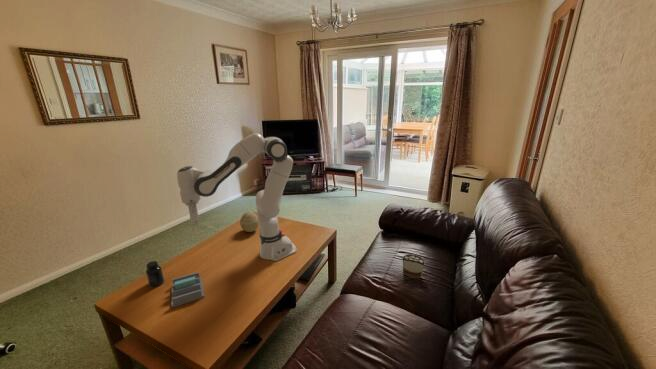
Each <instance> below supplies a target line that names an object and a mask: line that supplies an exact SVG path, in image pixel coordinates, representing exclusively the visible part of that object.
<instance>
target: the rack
mask: <svg viewBox="0 0 656 369" xmlns="http://www.w3.org/2000/svg"><path fill="white" fill-rule="evenodd" d="M194 276H195V279H196V284H195V285H191V286H188V287H185V288H181V289H178V290H176V288H175V282H176V281H180V280H183V279H187V278H190V277H194ZM172 283H173V284H172V285H171V300H170V304H171V305H170V307H171V308H176V307H178V306H182V305H184V304H189V303H190V302H194V301H199V300H200V299H204V298H205V294H204V293H205V292H204V286H203V278H202V276H200V273H199V271H197V272H193V273H189V274H186V275H181V276H178V277H175V278H172Z"/></svg>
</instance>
